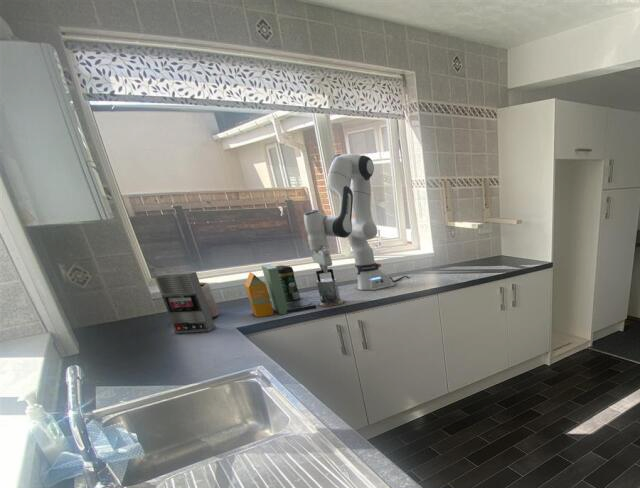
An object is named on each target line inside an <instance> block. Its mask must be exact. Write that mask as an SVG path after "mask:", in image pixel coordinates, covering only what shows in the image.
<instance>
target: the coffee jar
mask: <svg viewBox="0 0 640 488" xmlns="http://www.w3.org/2000/svg"><path fill="white" fill-rule="evenodd" d="M275 267H276V268H277V269H278V273H279V277H280V281H281V284H282V288H283V292H284V296H285V300H286V302H296V301H299V300H300V298H301V296H300V291H299V289H298V285H297V283H296V279H295V272H294V269H293V267H292V266H289V265H283V264H281V265H276V266H275Z"/></svg>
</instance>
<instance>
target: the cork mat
mask: <svg viewBox="0 0 640 488" xmlns="http://www.w3.org/2000/svg"><path fill="white" fill-rule="evenodd" d="M342 304H344V300H343V299H340V301H338V302H334V303H322V302H321V301H320V303H319V306H320V307H334V306H338V305H342Z"/></svg>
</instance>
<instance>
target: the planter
mask: <svg viewBox="0 0 640 488" xmlns="http://www.w3.org/2000/svg"><path fill="white" fill-rule="evenodd" d="M200 285H201V288H202V291H203V294H204V296H205V299H206V302H207V305H208V308H209V311H210V314H211V317H212V319H213V320H214V319H215V318H217V317H218V316H219V315H220V312H219V309H218V308H219V307H218V306H217V303H216V300H215V297H214V294H213V292H212V289H211V286H210V283H208V282H200Z"/></svg>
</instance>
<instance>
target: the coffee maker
mask: <svg viewBox="0 0 640 488" xmlns="http://www.w3.org/2000/svg"><path fill="white" fill-rule="evenodd" d="M261 270H262V273H263V277H264V280H265V284H266V287H267V290H268V294H269V297H270V301H271V305H272V308H273V310H275V311H276V312H277V313H278V314H279V315H285V314H291V313H296V312H301V311H307V310H313V309H316V307H317V306H316V304H314V302H313V301H311V300H308V299H303V300H296V301H290V302H287V301H286V300H285V296H284V292H283V288H282V284H281V281H280V277H279V273H278V269H277V268H276V266H274V265H272V264H270V263H269V264H268V263H267V264H261Z"/></svg>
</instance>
